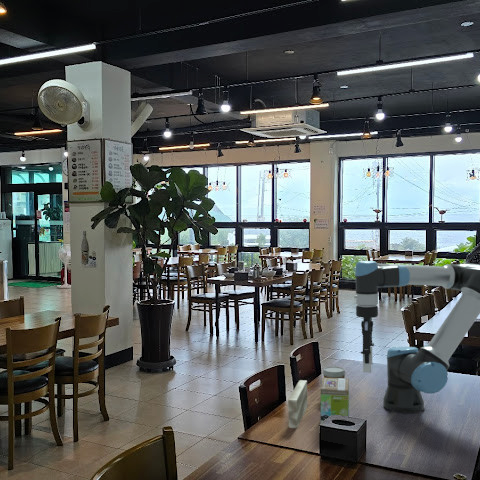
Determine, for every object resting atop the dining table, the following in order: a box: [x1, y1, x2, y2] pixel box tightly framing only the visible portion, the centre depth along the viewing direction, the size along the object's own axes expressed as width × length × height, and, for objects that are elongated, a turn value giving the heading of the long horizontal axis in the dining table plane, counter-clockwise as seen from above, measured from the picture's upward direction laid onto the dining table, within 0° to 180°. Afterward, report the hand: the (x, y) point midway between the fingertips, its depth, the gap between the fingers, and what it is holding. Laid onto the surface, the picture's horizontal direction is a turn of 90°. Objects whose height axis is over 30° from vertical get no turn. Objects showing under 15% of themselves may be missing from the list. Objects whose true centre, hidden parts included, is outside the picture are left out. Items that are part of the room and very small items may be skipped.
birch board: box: [287, 379, 308, 429], centre depth 207 cm, size 3×24×10 cm, turn 164°
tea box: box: [320, 377, 350, 424], centre depth 198 cm, size 15×10×15 cm, turn 169°
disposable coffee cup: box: [322, 365, 347, 379], centre depth 226 cm, size 10×10×12 cm
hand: (367, 368), depth 195 cm, fingers open, 9 cm apart
